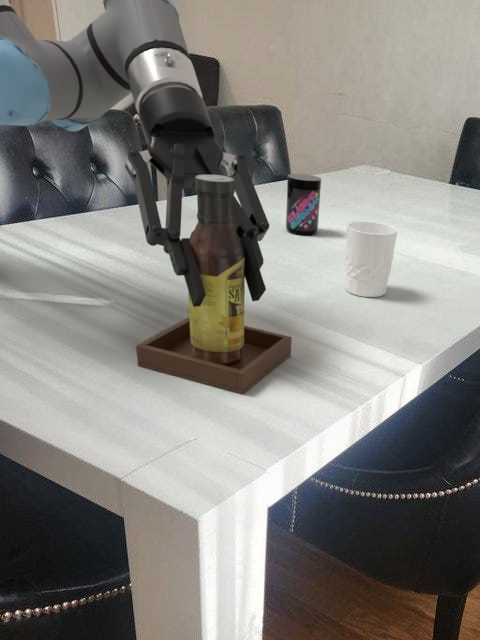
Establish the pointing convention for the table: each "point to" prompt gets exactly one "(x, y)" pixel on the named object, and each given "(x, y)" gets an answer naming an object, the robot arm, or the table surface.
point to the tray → (177, 359)
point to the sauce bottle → (217, 274)
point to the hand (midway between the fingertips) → (229, 297)
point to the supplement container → (303, 204)
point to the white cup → (369, 257)
